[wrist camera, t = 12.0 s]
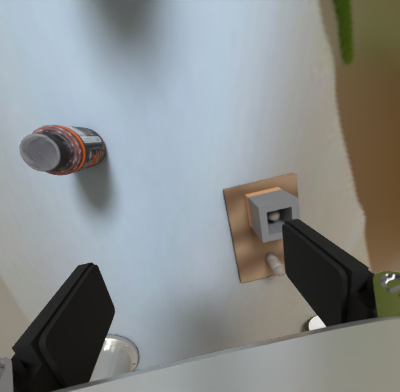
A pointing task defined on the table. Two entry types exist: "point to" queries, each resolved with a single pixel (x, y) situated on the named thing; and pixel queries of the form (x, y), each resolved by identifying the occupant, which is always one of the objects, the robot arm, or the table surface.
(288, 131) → the table surface
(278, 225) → the sleeve
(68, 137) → the supplement bottle
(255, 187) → the pin board
